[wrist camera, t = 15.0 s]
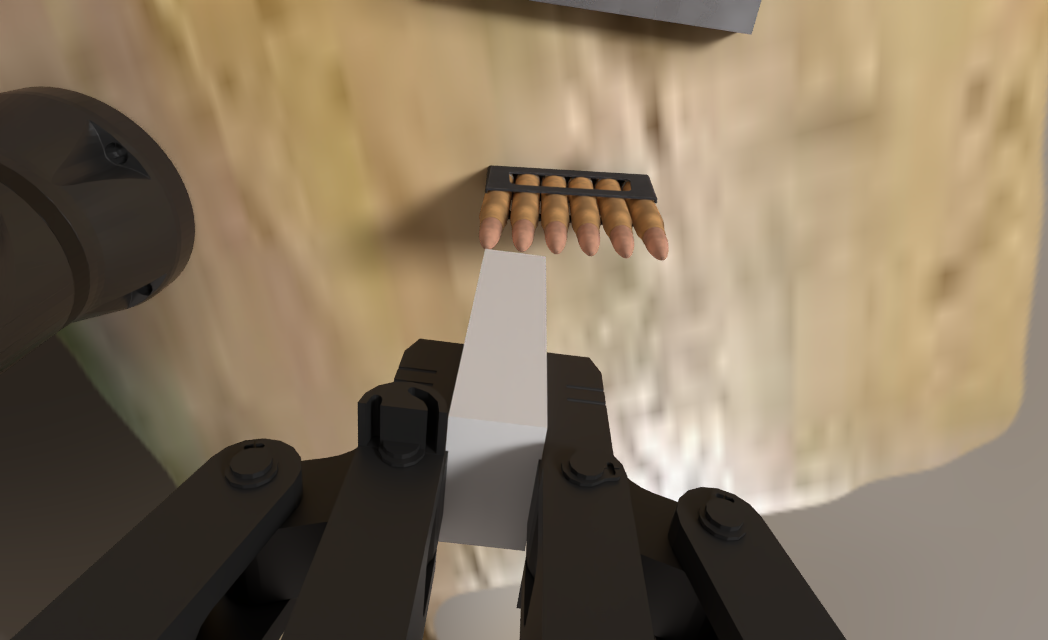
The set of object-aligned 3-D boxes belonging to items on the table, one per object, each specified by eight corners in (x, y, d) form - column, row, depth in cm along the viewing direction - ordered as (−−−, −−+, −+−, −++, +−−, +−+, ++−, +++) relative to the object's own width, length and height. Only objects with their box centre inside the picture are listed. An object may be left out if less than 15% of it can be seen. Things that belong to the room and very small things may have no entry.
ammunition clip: (487, 192, 41) (467, 263, 30) (488, 165, 40) (467, 229, 30) (644, 202, 41) (679, 276, 30) (649, 174, 40) (685, 242, 30)
